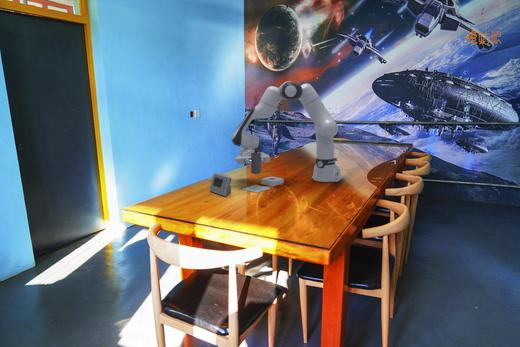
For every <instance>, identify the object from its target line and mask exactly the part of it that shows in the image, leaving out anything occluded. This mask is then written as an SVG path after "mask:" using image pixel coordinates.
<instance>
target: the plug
mask: <svg viewBox="0 0 520 347" xmlns="http://www.w3.org/2000/svg"><path fill="white" fill-rule="evenodd" d="M259 152H260V151H258V152H257V147H255V152H253V153H251V160H252V163H251V165H250V170H251V171H250V172H251V173H250V174H253V175H260V174H262V163H261V153H259Z"/></svg>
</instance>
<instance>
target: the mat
mask: <svg viewBox="0 0 520 347" xmlns="http://www.w3.org/2000/svg"><path fill="white" fill-rule="evenodd" d="M241 189H242V190H244V191H247V192H252V193H256V194H257V193H258V194H259V193H261V192H264V191H265V192H266V191H267V190H270V189H271V187H270V186H262V185H258V184H254V185H251V186H247V187H243V188H241Z"/></svg>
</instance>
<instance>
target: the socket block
mask: <svg viewBox="0 0 520 347" xmlns="http://www.w3.org/2000/svg"><path fill="white" fill-rule="evenodd" d="M284 181H285V180H284V178H283V177H278V176H277V177H276V176H271V175H270V176H267V177H264V178H260V184H261V185H265V186H268V187H276V186H279V185H283V184H284Z"/></svg>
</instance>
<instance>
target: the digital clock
mask: <svg viewBox="0 0 520 347" xmlns="http://www.w3.org/2000/svg"><path fill="white" fill-rule="evenodd" d="M231 183H232V177H230V176H228V175H225V174H223V173H218V172H215V173H214V172H213V174H212V178H211V182H210V186H209V191H210V192H212V193H214V194H215V195H219V196H223V197H227V196H228V195H230V194H232V187H231Z"/></svg>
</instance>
